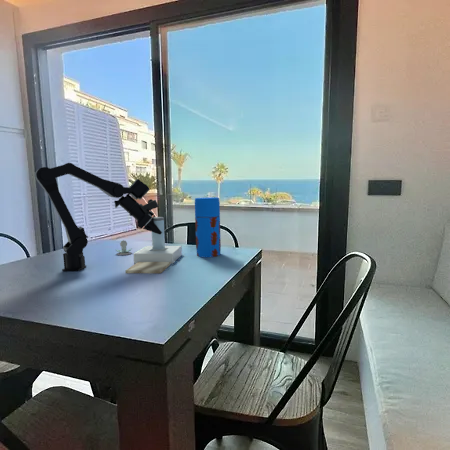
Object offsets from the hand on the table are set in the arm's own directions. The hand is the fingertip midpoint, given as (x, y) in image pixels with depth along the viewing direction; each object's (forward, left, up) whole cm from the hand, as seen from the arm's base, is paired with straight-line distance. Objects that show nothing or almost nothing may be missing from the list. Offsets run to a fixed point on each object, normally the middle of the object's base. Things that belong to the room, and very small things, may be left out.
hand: (161, 232), depth 137 cm
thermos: (+19, +8, -11) cm, 23 cm away
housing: (-1, 0, -11) cm, 11 cm away
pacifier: (-21, +9, -11) cm, 26 cm away
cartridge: (-1, 0, -7) cm, 7 cm away
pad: (0, -16, -11) cm, 20 cm away
